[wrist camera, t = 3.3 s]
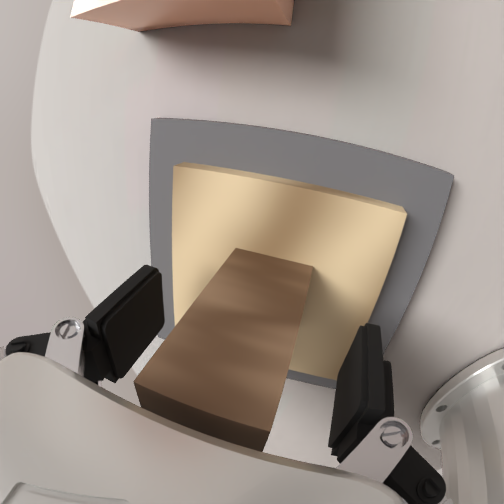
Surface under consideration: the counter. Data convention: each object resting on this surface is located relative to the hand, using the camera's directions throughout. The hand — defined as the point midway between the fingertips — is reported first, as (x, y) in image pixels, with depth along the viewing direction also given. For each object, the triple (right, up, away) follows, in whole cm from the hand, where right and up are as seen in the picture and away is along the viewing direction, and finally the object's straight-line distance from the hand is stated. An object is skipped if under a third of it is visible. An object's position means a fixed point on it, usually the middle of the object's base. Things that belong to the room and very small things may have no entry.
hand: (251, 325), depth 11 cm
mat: (+1, +2, +4) cm, 4 cm away
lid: (+1, +2, +3) cm, 4 cm away
